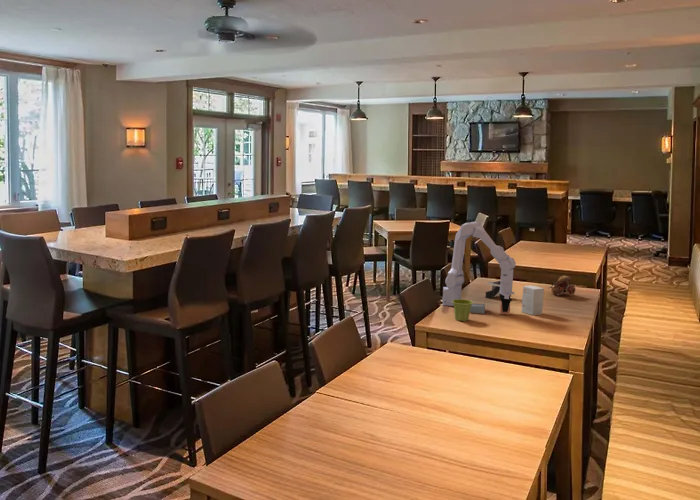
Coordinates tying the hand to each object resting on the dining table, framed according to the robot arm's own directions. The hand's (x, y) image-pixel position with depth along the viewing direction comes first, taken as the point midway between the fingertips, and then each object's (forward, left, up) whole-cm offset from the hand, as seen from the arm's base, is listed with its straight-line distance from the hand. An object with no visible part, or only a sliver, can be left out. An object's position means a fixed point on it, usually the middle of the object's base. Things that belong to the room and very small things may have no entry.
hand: (504, 310), depth 299 cm
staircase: (-1, +34, -2) cm, 34 cm away
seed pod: (+35, +51, -2) cm, 62 cm away
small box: (+13, +5, -2) cm, 14 cm away
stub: (0, 0, -1) cm, 1 cm away
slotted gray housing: (-14, 0, -2) cm, 14 cm away
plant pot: (-21, -17, -2) cm, 27 cm away
